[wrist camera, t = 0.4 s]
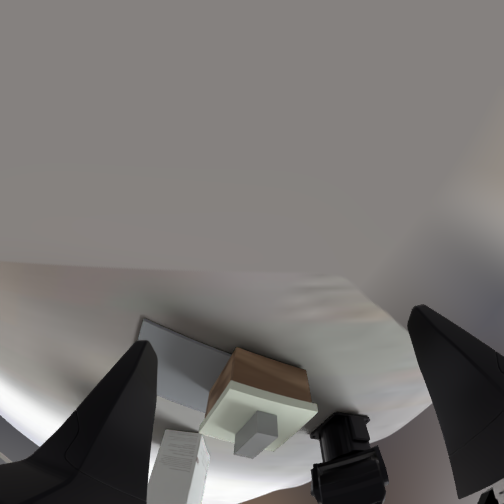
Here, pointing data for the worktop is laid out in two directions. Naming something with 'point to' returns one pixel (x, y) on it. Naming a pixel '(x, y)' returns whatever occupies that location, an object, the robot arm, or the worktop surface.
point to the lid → (255, 419)
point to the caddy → (261, 377)
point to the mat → (183, 366)
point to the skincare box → (179, 469)
